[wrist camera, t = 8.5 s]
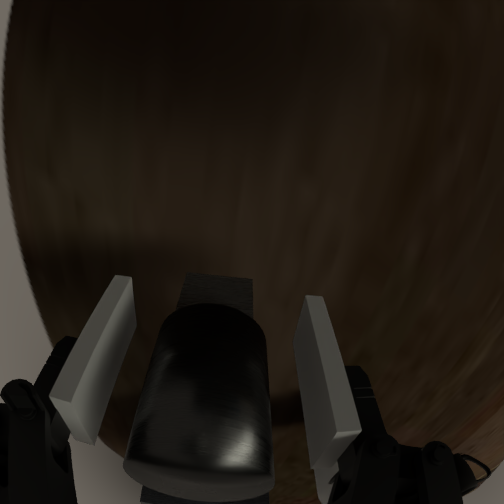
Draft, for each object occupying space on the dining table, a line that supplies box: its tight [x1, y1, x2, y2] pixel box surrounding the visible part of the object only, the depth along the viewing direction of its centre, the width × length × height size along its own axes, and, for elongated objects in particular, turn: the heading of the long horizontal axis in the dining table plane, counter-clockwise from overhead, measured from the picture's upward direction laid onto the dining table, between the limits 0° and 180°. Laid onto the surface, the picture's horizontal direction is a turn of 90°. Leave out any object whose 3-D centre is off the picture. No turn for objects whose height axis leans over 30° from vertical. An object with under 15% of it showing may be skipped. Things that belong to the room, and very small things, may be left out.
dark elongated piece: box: [123, 272, 275, 502], centre depth 16 cm, size 26×4×9 cm, turn 173°
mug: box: [453, 454, 491, 496], centre depth 40 cm, size 8×12×10 cm
